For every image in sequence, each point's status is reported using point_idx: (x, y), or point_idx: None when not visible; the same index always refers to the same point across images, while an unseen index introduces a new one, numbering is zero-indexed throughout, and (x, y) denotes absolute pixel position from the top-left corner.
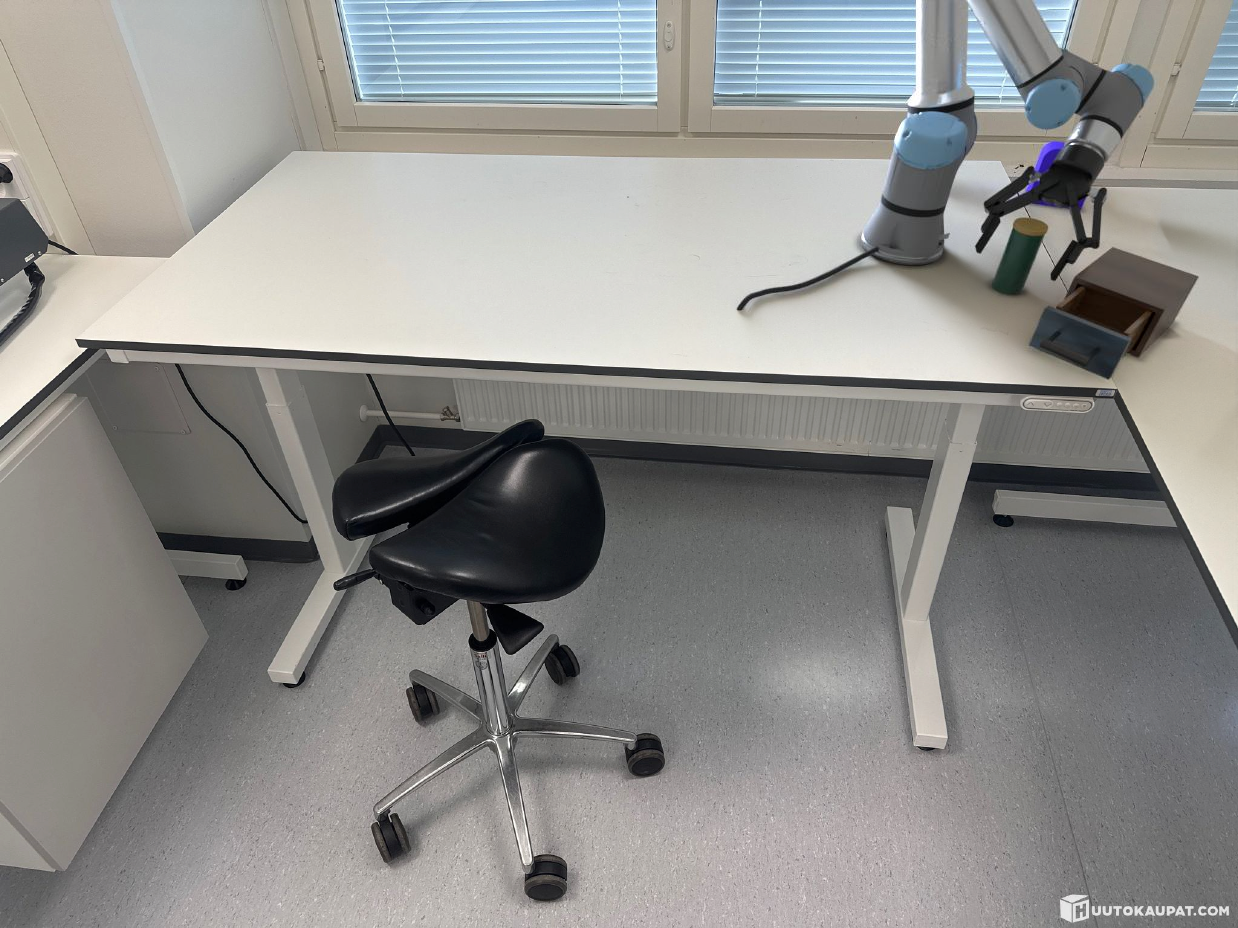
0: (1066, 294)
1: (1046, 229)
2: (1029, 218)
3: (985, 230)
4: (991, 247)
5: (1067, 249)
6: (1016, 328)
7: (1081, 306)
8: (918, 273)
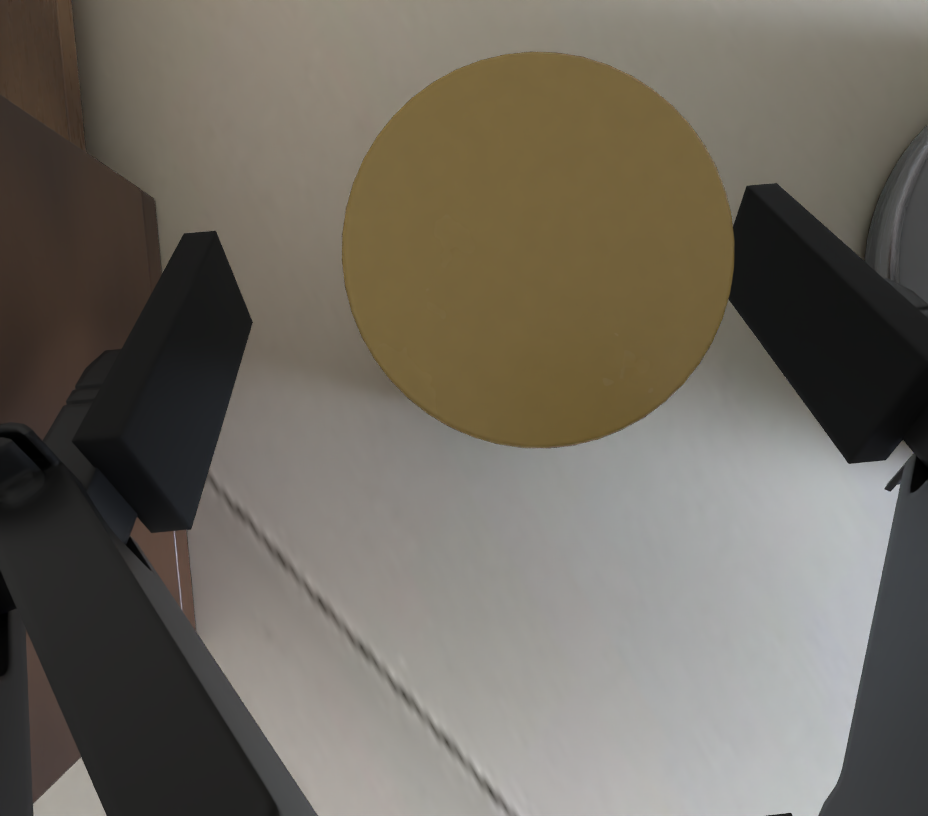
0: (35, 118)
1: (350, 265)
2: (643, 387)
3: (847, 250)
4: (770, 675)
5: (144, 361)
6: (243, 18)
7: None
8: (840, 109)
